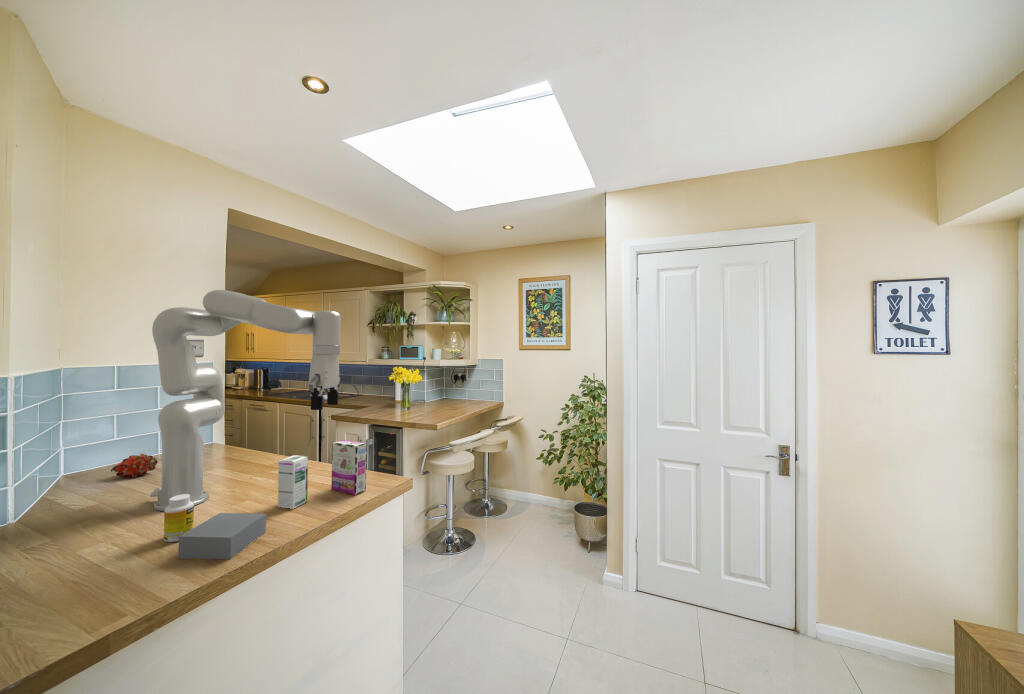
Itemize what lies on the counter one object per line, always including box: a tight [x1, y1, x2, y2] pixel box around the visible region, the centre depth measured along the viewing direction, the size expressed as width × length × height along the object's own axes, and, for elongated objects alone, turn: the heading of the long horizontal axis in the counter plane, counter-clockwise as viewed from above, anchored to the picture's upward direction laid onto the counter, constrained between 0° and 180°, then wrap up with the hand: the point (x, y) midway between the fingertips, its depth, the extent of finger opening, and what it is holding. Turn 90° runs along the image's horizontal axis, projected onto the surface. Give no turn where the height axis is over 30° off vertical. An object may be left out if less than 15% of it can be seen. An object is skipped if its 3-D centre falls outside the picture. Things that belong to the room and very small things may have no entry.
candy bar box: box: [330, 439, 368, 496], centre depth 125 cm, size 11×5×16 cm, turn 68°
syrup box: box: [277, 454, 309, 510], centre depth 113 cm, size 6×6×14 cm
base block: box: [177, 512, 267, 560], centre depth 90 cm, size 12×12×5 cm
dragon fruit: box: [110, 453, 159, 479], centre depth 134 cm, size 8×8×12 cm
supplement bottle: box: [163, 494, 195, 543], centre depth 93 cm, size 6×6×10 cm
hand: (325, 407), depth 112 cm, fingers open, 9 cm apart
